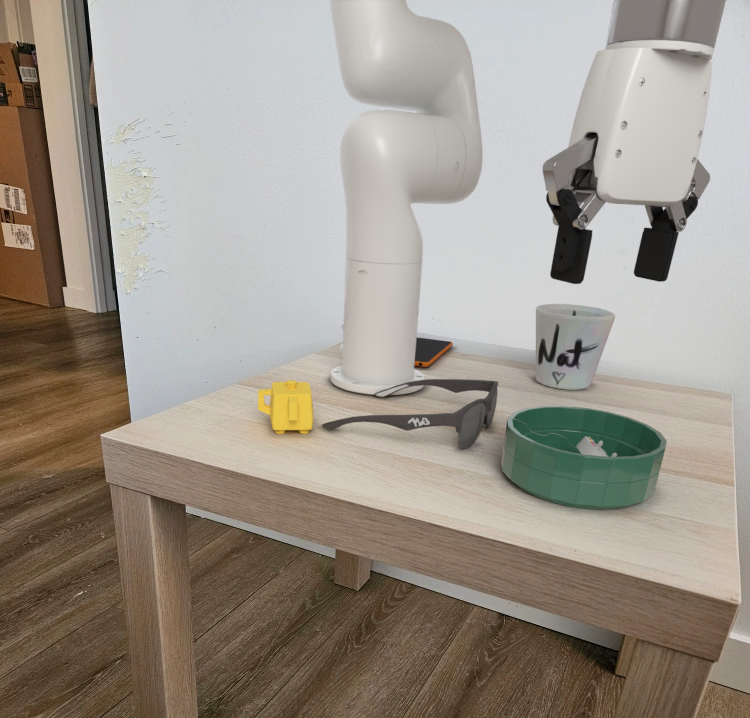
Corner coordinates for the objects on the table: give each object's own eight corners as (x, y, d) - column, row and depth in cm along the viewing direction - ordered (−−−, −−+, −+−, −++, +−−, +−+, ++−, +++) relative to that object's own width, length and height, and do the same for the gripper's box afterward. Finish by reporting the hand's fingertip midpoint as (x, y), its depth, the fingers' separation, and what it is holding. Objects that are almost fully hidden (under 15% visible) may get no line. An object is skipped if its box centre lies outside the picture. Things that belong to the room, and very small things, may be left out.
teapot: (258, 415, 76) (256, 370, 73) (309, 415, 77) (310, 370, 74) (258, 441, 69) (257, 391, 66) (315, 440, 69) (316, 391, 67)
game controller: (630, 492, 60) (647, 467, 60) (529, 449, 56) (546, 422, 55) (599, 463, 65) (614, 440, 64) (504, 422, 61) (519, 397, 60)
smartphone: (453, 346, 112) (453, 341, 112) (428, 369, 98) (428, 363, 97) (409, 340, 114) (410, 335, 114) (378, 362, 100) (379, 356, 99)
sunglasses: (467, 462, 66) (467, 413, 64) (317, 447, 72) (313, 402, 71) (509, 416, 79) (510, 374, 77) (380, 407, 86) (378, 368, 84)
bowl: (471, 463, 66) (477, 414, 64) (576, 444, 72) (585, 399, 70) (572, 525, 55) (584, 468, 53) (686, 496, 61) (700, 445, 59)
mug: (518, 385, 92) (529, 311, 88) (537, 363, 105) (548, 296, 101) (596, 397, 89) (612, 321, 85) (607, 372, 101) (621, 304, 97)
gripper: (696, 54, 55) (645, 271, 63) (535, 21, 48) (499, 274, 55) (782, 46, 50) (714, 285, 57) (615, 7, 42) (562, 291, 50)
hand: (609, 279), depth 56 cm, fingers open, 9 cm apart
